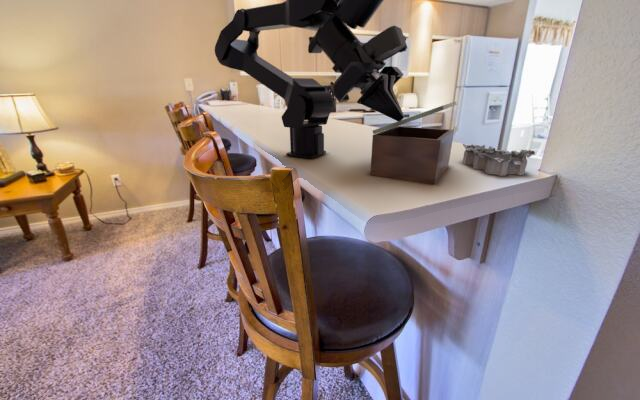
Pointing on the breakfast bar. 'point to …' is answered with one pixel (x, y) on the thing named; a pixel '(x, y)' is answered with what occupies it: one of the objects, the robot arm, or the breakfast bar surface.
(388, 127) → the lid
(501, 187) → the breakfast bar surface
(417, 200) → the breakfast bar surface
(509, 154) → the egg carton
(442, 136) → the box
